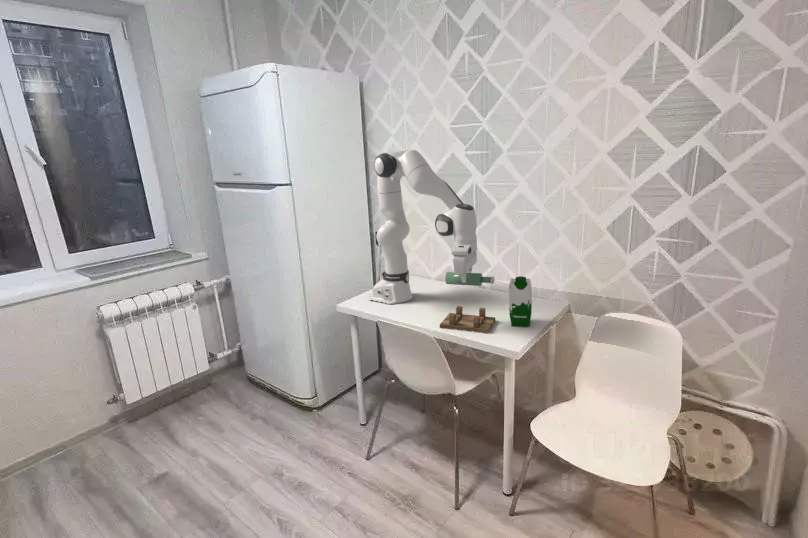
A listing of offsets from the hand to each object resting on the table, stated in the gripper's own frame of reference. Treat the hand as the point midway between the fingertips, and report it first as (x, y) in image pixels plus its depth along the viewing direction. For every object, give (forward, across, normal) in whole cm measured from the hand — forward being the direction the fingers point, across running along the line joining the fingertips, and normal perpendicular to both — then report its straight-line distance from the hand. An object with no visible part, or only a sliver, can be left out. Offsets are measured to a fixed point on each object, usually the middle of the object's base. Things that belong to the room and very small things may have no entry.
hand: (466, 279), depth 168 cm
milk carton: (+20, -7, +20) cm, 29 cm away
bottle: (+1, +2, +1) cm, 3 cm away
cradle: (+19, 0, 0) cm, 19 cm away
